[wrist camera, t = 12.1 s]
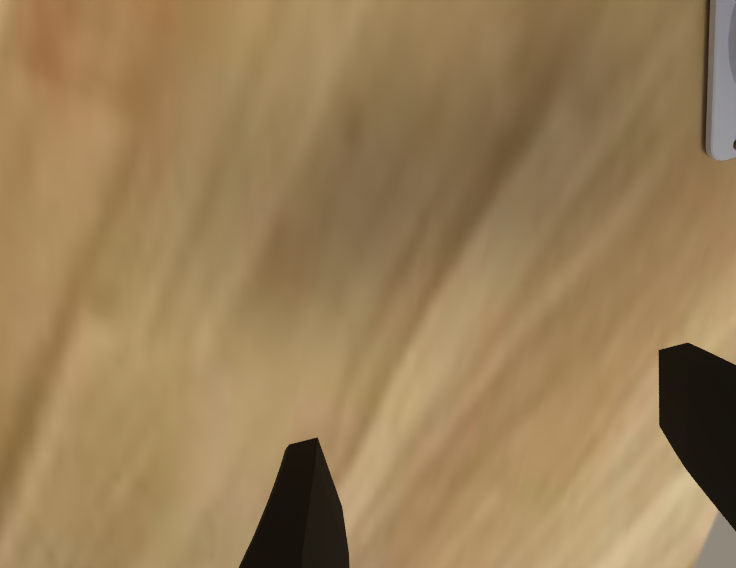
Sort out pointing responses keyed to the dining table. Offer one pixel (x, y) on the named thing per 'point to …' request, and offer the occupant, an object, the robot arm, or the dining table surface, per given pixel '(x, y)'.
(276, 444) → the dining table surface
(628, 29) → the dining table surface
